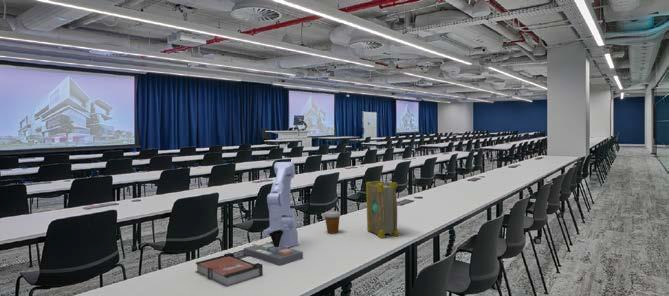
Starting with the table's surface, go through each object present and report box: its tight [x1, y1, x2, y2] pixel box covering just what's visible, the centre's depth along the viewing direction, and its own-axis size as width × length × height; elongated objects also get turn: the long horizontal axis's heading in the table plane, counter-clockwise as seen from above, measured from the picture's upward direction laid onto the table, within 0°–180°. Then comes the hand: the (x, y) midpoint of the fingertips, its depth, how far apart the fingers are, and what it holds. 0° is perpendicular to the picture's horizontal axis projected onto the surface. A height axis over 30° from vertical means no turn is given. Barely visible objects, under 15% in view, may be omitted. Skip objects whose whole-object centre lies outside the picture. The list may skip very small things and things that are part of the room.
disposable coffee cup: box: [324, 210, 341, 235], centre depth 243 cm, size 10×10×12 cm
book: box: [195, 252, 264, 287], centre depth 177 cm, size 26×18×5 cm
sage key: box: [261, 243, 274, 251], centre depth 202 cm, size 5×5×2 cm
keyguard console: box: [243, 242, 304, 267], centre depth 200 cm, size 14×28×3 cm, turn 46°
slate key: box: [269, 247, 284, 253], centre depth 198 cm, size 5×5×2 cm
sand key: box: [253, 241, 267, 249], centre depth 207 cm, size 5×5×2 cm
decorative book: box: [365, 180, 400, 239], centre depth 236 cm, size 20×11×30 cm, turn 21°
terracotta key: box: [278, 248, 293, 256], centre depth 193 cm, size 5×5×2 cm
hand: (276, 246), depth 198 cm, fingers closed
